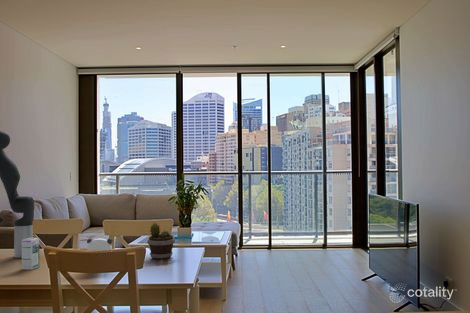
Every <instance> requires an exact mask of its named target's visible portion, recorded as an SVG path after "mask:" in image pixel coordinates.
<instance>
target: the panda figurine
mask: <svg viewBox="0 0 470 313" xmlns="http://www.w3.org/2000/svg"><path fill="white" fill-rule="evenodd" d="M113 241H114V240H113V238H112V237H109V238H108V239H107V238H99V237H98V238H94V239H93V238H91V237H90V238H87V240H86V243H87V244H88V246H87V249H86V251H87V250H112V251H113V246H112V243H113Z"/></svg>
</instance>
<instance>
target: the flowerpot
mask: <svg viewBox="0 0 470 313" xmlns="http://www.w3.org/2000/svg"><path fill="white" fill-rule="evenodd" d="M149 232H150V236H149V237H148V239H147V241H146V242H147V245H149V246H148V247H149V250H150V252H149V255H150V257H151V259H152V260H154V261H155V260H156V261H165V260H170V259H171V257H172V256H173V254H174V253H173V248H174V247H173V246H174V244H175V242H176V239H175V238H174V236H173V234H170V233H169V231H168V230H166V229H165V228H164V230H162V231H161V225H159V224H158V223H157V222H156V221H153V223H152V224H151V226H150V228H149Z"/></svg>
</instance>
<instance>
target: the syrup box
mask: <svg viewBox="0 0 470 313" xmlns="http://www.w3.org/2000/svg"><path fill="white" fill-rule="evenodd" d="M21 268H22V270H26V271H27V270H30V271H31V270H35V269H37V268H40V238H39V237H33V238H28V239H24V240H22V258H21Z"/></svg>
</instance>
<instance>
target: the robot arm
mask: <svg viewBox="0 0 470 313" xmlns="http://www.w3.org/2000/svg"><path fill="white" fill-rule="evenodd" d="M10 143H11V138H10V135H9V133H6V132H5V131H1V130H0V180H1V182H2V183H1V184H2V185H3V187H4V189H5V193H6V195H7V198H8V202H9V206H10V209H11V211H12V213H16V214H23V215H22V217H20V218H19V219H18V218H17V219H16V220H14V225H13V226H14V228H13V229H14V232H13V233H14V235H13V236H14V237H13V238H14V239H13V240H14V241H13V242H14V245H13V249H14V251H13V257H14V258H18V259H22V240H24V239H28V238H34V237H33V235H34V234H33V233H34V232H33V231H34V228H33V227H34V226H33V225H34V218H35V214H34V213H35V199H34V197H32V196H30V195H29V196H28V195H27V196H23V195H22V196H20V195H19V194H18V193H19V192H18V187H19V183H20V181H21V175H20V172H19V170H18V167H17V165H16V164H15V162H14V161H13V160H12V159H11V158H10V157H9V156H8V155H7V153H6V152H5V151H4V150H5V149H7V147H8V146H9V145H10ZM3 220H4V219H3V218H2V217H1V216H0V224H1V223H2V222H3Z"/></svg>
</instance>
